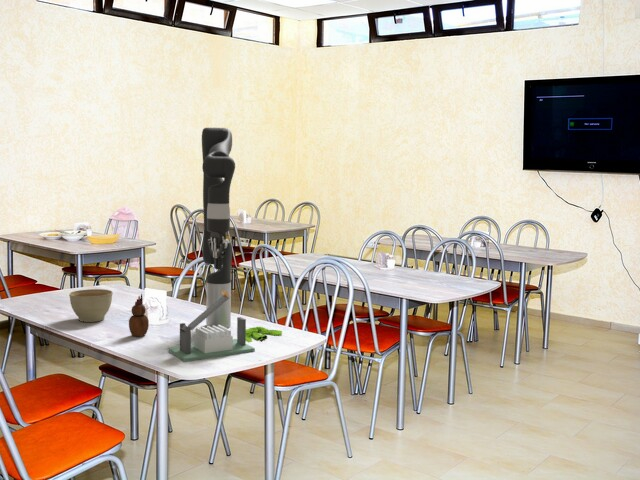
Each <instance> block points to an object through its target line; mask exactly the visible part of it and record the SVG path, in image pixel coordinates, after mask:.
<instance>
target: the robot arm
mask: <svg viewBox="0 0 640 480" xmlns="http://www.w3.org/2000/svg"><path fill="white" fill-rule="evenodd" d="M232 147H233V134H232V131H231V129H229V128H228V127H227V128H226V127H204V128H203V129H202V131H201V149H202V151H201V152H202V167H201V168H202V172H203V173H202V174H203V178H202V181H203V182H202V201H203V202H202V207H203V208H202V209H203V210H202V211H203V235H202V237H203V238H202V260H203V263H204V264H206V265H213V268H214V270H216V271H213V272H210V273H208V274H207V275H206V305H205V306H206V309H205V310H207V309H208V308H209V307H210V306H211V305H212V304H214V303H215V302H216V301H217V300H218V299H220V298H221V297H222V296H223V294H222V291H226V292H227V293H228V295H229V299H228V300H227V301H226V302H224V303H223V304H222V305H221V306H220V307H219V308H217V309H216V310H215V311H214V312H213V313H212V314H210V315H209V316H208V317H207V318H206V319H205V320H206V322H205V323H206V324H205V325H206V327H207V326H210V327H212V326H213V325H214V326H216V327H218V325H221V326H223V327H225V328H227V329H229V328H230V327H231V321H232V320H231V318H232V317H231V316H232V312H231V311H232V305H231V304H232V303H231V302H232V259H233V245H232V242H231V241H229V240H227V234H226V233H227V232H230V230H231V207H230V189H231V185H232V180H233V177H234V173H235V172H236V171H235V169H236V162H235V160H234V159H233V157H230V154H231V151H232V149H233V148H232Z"/></svg>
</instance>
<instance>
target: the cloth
mask: <svg viewBox="0 0 640 480" xmlns="http://www.w3.org/2000/svg"><path fill="white" fill-rule="evenodd" d="M282 333H283V330H278V329H268V328H265V327H262V326H255V327H250V328H246V343H252V342H253V340H254V341H260V342H263V341H264V340H268V336H274V337H282Z"/></svg>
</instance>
